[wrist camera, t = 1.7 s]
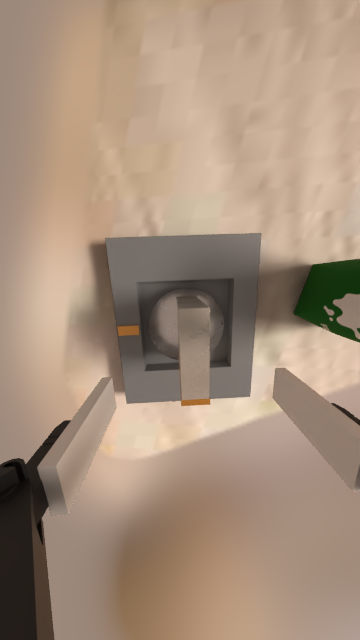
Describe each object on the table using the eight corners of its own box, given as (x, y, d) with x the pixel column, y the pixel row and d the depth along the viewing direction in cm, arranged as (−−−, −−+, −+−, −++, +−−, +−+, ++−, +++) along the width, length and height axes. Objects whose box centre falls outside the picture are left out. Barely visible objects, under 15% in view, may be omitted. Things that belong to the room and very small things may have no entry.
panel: (112, 242, 22) (104, 237, 19) (251, 238, 22) (262, 232, 20) (130, 392, 27) (126, 405, 24) (243, 386, 28) (250, 397, 25)
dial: (147, 289, 23) (126, 297, 13) (221, 286, 23) (260, 292, 13) (152, 358, 25) (138, 412, 15) (220, 354, 25) (251, 405, 15)
